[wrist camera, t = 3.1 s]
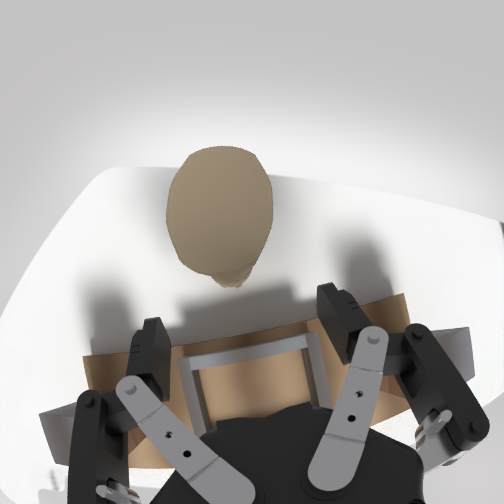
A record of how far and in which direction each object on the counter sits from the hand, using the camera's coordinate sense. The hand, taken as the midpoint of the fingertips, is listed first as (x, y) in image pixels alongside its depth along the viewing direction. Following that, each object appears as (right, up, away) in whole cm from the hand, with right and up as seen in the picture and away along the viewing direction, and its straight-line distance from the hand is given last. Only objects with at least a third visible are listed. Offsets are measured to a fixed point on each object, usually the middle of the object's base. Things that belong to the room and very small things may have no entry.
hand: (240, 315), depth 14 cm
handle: (-1, +1, +13) cm, 14 cm away
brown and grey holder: (+1, -10, +10) cm, 14 cm away
